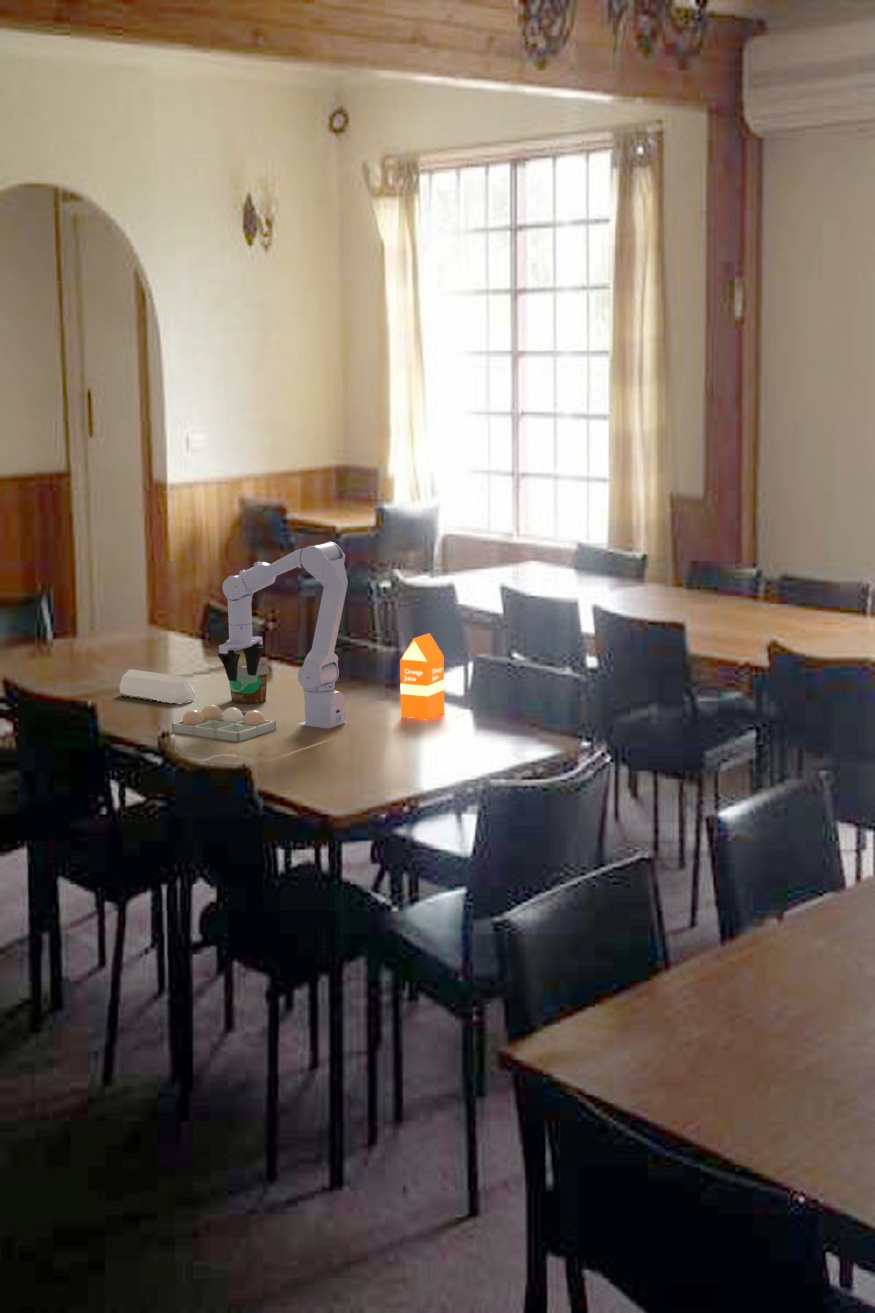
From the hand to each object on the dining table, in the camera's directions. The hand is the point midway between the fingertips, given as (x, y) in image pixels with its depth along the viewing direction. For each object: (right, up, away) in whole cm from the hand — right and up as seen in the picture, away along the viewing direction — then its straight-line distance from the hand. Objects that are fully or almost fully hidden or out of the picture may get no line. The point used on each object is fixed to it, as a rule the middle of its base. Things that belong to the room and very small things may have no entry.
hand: (242, 677), depth 406 cm
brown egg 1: (-10, -12, -14) cm, 21 cm away
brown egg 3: (+5, -12, -16) cm, 21 cm away
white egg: (-1, -12, -12) cm, 17 cm away
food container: (-2, -7, +17) cm, 19 cm away
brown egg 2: (-6, -11, -9) cm, 16 cm away
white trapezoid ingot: (-25, -6, +25) cm, 36 cm away
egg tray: (-3, -13, -15) cm, 20 cm away
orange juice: (+45, -10, +1) cm, 46 cm away
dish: (0, -10, -1) cm, 10 cm away
